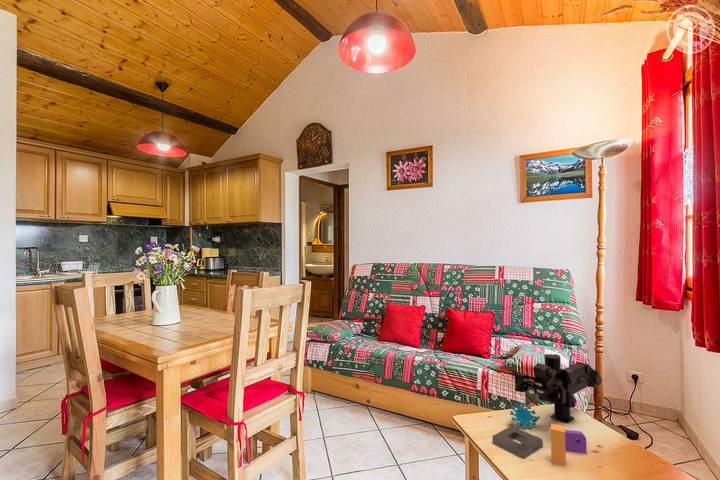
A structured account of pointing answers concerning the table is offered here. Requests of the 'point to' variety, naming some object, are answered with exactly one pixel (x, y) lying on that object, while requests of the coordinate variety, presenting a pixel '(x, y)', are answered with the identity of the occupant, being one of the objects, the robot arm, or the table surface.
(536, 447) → the slotted square tile
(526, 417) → the gear
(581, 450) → the bracket
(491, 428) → the table surface
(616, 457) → the table surface
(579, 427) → the table surface
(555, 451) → the tall orange pillar
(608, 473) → the table surface
